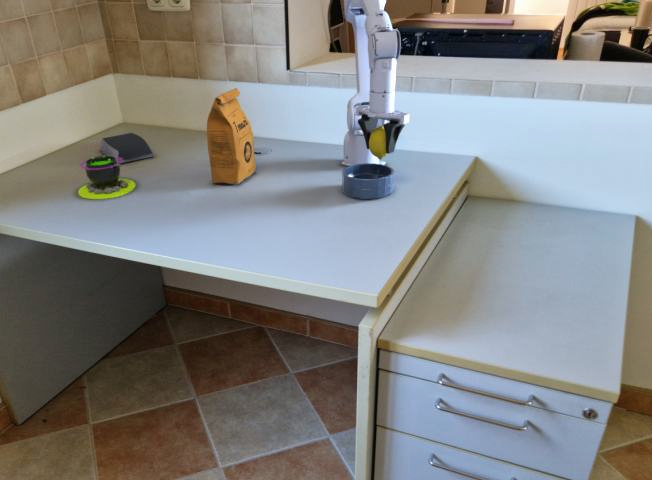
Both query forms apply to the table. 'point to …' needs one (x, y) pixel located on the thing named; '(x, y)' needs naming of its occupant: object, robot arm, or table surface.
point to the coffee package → (229, 140)
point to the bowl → (367, 180)
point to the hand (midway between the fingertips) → (380, 150)
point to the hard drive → (126, 147)
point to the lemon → (378, 142)
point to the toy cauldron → (104, 178)
